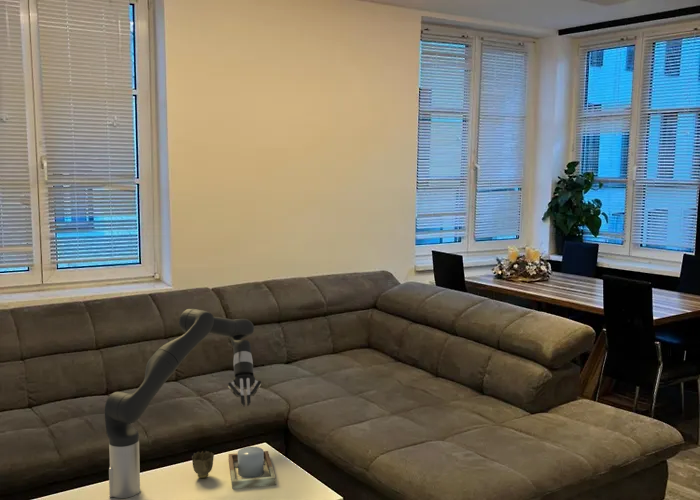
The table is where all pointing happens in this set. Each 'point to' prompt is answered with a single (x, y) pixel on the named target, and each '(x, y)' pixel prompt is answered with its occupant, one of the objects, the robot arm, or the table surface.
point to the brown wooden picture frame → (252, 481)
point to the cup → (202, 463)
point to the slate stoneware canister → (250, 462)
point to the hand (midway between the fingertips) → (245, 405)
